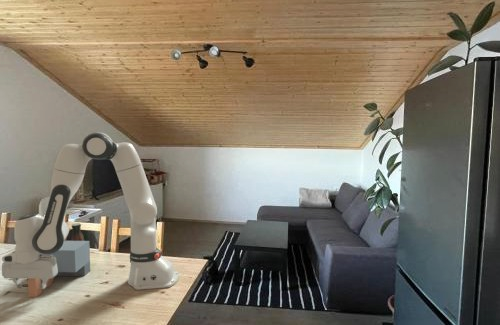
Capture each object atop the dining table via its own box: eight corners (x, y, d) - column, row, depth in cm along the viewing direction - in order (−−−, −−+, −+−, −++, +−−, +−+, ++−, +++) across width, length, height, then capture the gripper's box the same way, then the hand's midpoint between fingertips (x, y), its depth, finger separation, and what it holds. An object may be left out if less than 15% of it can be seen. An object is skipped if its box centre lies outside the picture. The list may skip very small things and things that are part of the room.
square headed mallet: (56, 281, 133) (55, 262, 132) (36, 297, 120) (35, 275, 120) (49, 281, 133) (48, 262, 132) (28, 296, 120) (27, 275, 120)
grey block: (90, 270, 144) (89, 240, 143) (76, 283, 132) (74, 250, 131) (53, 270, 144) (51, 240, 143) (35, 282, 132) (33, 250, 131)
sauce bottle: (82, 257, 159) (81, 221, 158) (87, 260, 155) (86, 223, 154) (69, 261, 154) (67, 224, 153) (73, 264, 150) (72, 226, 149)
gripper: (60, 251, 122) (62, 284, 123) (10, 251, 122) (12, 283, 123) (50, 258, 115) (52, 292, 117) (-3, 257, 115) (-1, 291, 117)
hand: (31, 287), depth 120 cm, fingers open, 8 cm apart
